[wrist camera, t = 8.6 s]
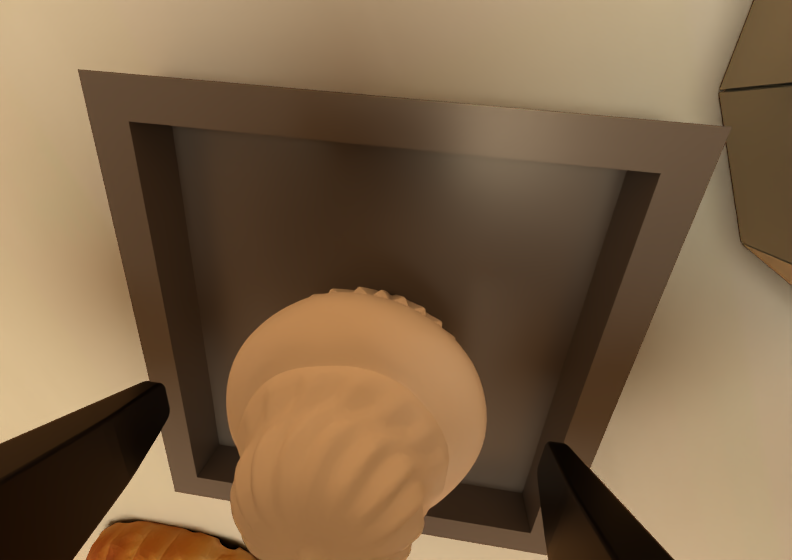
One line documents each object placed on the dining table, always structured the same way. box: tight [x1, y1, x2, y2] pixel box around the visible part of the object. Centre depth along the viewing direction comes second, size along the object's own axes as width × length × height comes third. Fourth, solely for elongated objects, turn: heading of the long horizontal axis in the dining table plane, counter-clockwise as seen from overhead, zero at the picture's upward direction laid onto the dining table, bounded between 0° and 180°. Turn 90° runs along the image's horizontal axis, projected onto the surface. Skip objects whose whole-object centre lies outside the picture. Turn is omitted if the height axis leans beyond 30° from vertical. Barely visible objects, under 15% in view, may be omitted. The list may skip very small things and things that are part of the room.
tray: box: [78, 69, 732, 555], centre depth 12 cm, size 14×14×2 cm
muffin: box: [226, 287, 487, 560], centre depth 9 cm, size 6×6×7 cm
